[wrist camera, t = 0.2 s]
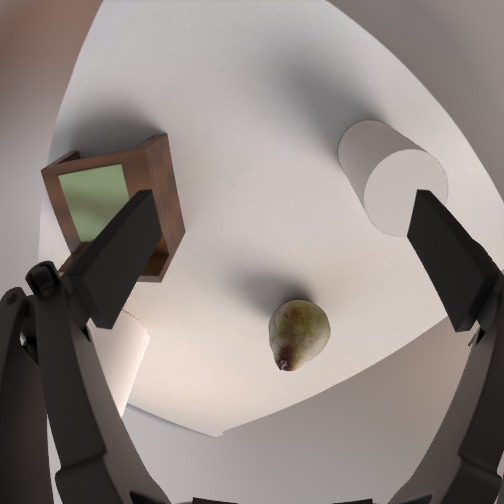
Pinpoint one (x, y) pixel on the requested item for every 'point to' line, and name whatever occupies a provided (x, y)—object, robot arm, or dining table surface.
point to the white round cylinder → (389, 174)
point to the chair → (115, 197)
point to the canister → (120, 354)
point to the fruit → (297, 333)
